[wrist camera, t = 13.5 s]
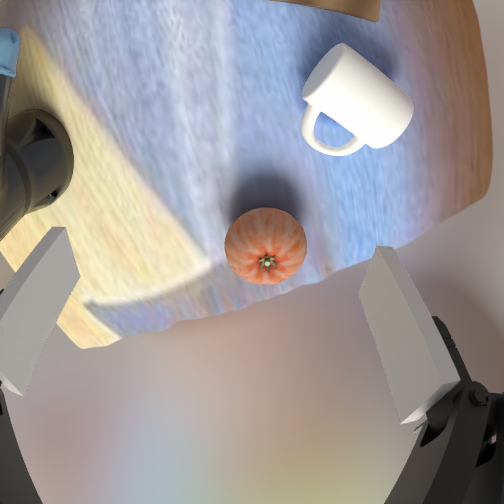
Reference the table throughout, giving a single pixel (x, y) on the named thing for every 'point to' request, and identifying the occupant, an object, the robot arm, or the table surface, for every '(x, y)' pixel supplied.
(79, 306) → the table surface
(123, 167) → the table surface
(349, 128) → the mug
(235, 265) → the pumpkin
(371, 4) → the peg stacking board
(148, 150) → the table surface
